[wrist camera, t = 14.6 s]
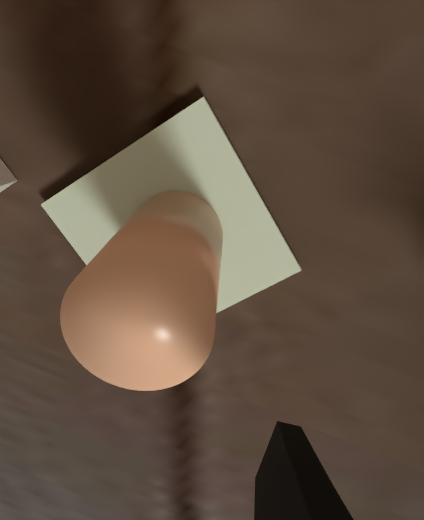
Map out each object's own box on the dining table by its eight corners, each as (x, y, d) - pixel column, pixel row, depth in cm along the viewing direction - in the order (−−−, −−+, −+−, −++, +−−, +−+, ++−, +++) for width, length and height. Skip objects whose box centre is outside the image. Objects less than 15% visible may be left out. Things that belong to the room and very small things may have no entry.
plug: (164, 293, 20) (122, 410, 12) (112, 221, 18) (28, 303, 11) (240, 251, 18) (243, 352, 11) (189, 172, 17) (155, 227, 10)
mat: (150, 341, 21) (148, 347, 21) (45, 202, 19) (40, 204, 18) (299, 266, 19) (301, 270, 19) (204, 96, 17) (203, 96, 16)
